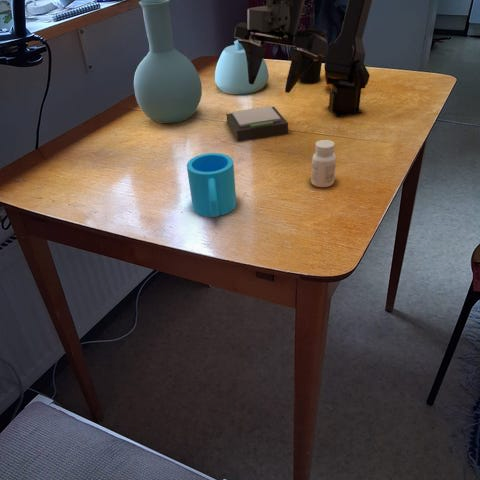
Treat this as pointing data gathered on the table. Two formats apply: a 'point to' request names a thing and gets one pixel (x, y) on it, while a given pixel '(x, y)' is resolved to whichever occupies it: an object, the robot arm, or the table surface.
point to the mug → (212, 184)
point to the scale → (256, 123)
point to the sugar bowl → (238, 72)
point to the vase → (165, 71)
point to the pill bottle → (323, 164)
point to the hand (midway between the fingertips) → (268, 88)
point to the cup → (315, 69)
